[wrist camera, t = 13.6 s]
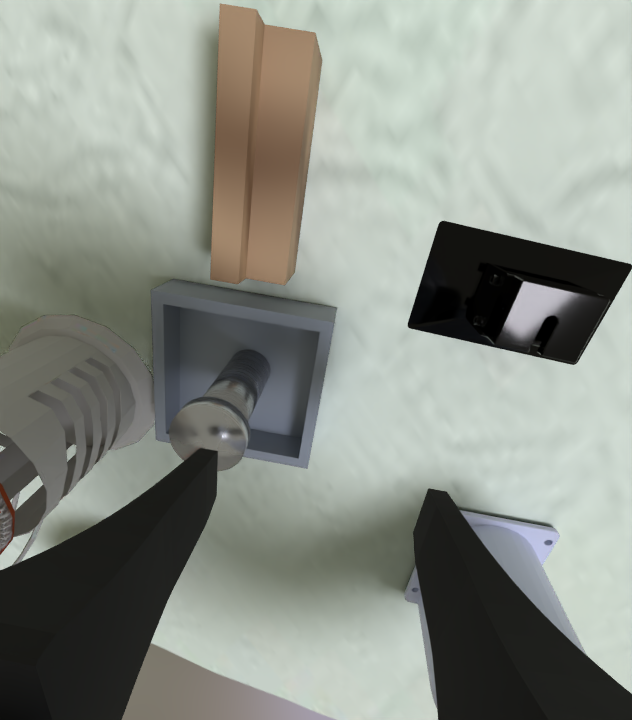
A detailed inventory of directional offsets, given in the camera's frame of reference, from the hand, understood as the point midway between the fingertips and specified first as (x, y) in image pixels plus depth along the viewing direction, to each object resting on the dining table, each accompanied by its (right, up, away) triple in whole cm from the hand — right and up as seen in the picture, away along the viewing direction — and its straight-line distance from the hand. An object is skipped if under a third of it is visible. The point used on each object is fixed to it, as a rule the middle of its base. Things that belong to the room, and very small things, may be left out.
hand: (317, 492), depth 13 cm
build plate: (+10, +8, +7) cm, 15 cm away
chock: (-2, +13, +5) cm, 14 cm away
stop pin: (-4, +4, +9) cm, 10 cm away
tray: (-4, +4, +9) cm, 11 cm away
